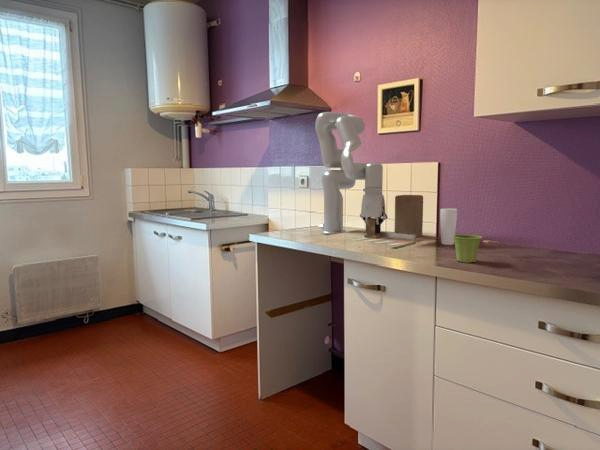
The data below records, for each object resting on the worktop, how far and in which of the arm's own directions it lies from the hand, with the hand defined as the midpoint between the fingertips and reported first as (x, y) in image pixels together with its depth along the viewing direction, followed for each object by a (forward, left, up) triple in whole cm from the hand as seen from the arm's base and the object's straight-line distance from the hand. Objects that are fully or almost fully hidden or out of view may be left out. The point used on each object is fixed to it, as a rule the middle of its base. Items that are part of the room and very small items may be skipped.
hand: (373, 232), depth 195 cm
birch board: (+7, -4, -4) cm, 9 cm away
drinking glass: (+29, +12, -4) cm, 32 cm away
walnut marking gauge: (0, 0, -2) cm, 2 cm away
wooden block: (+9, +15, -4) cm, 18 cm away
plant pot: (+49, -18, -4) cm, 52 cm away
